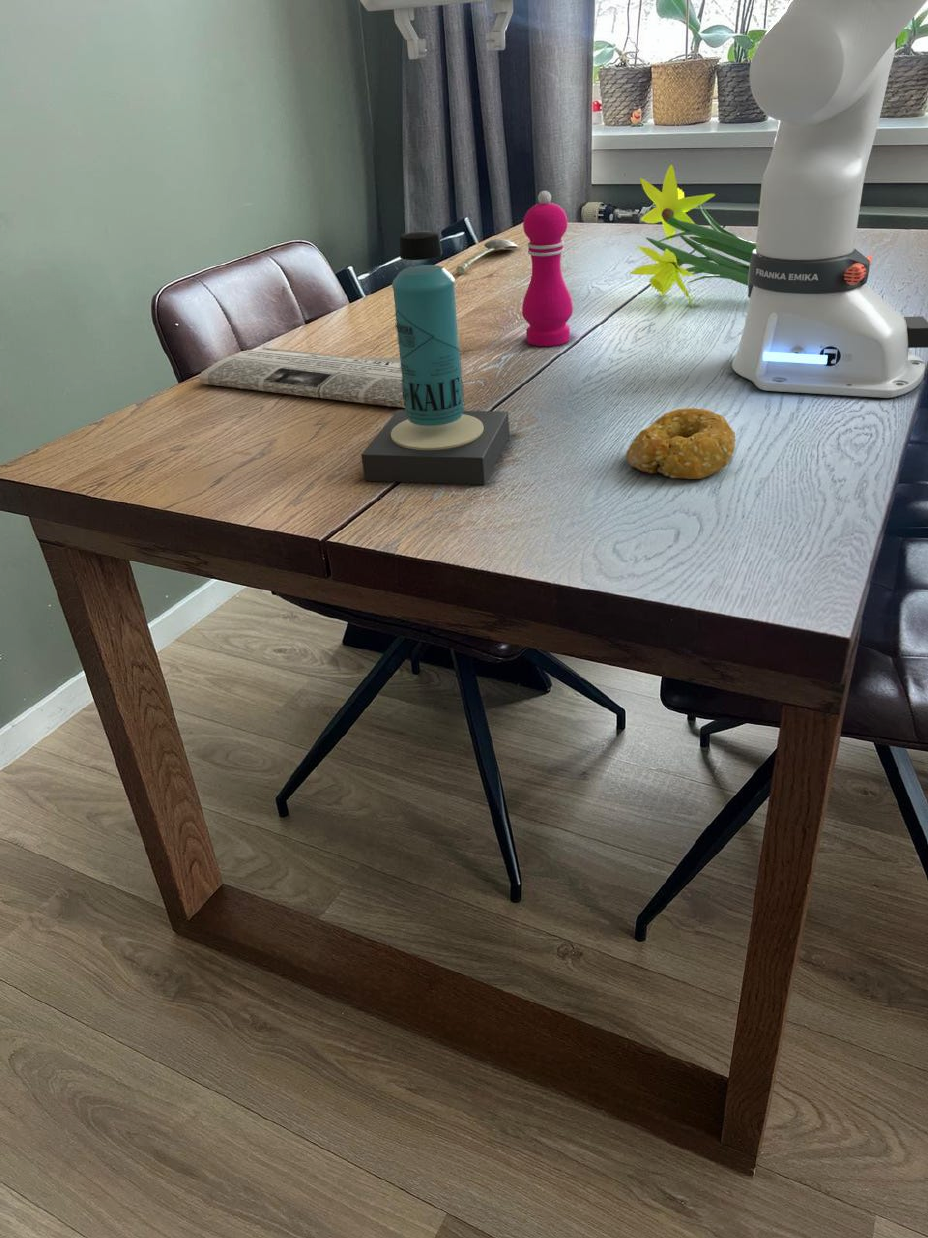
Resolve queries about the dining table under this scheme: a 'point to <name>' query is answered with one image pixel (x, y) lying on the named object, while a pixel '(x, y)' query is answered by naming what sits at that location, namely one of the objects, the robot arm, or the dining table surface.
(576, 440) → the dining table surface
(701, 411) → the bagel
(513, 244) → the soupspoon
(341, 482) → the dining table surface
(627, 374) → the dining table surface
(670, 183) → the daffodil flowers
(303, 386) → the newspaper
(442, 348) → the beverage bottle
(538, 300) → the pepper mill
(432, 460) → the display stand
